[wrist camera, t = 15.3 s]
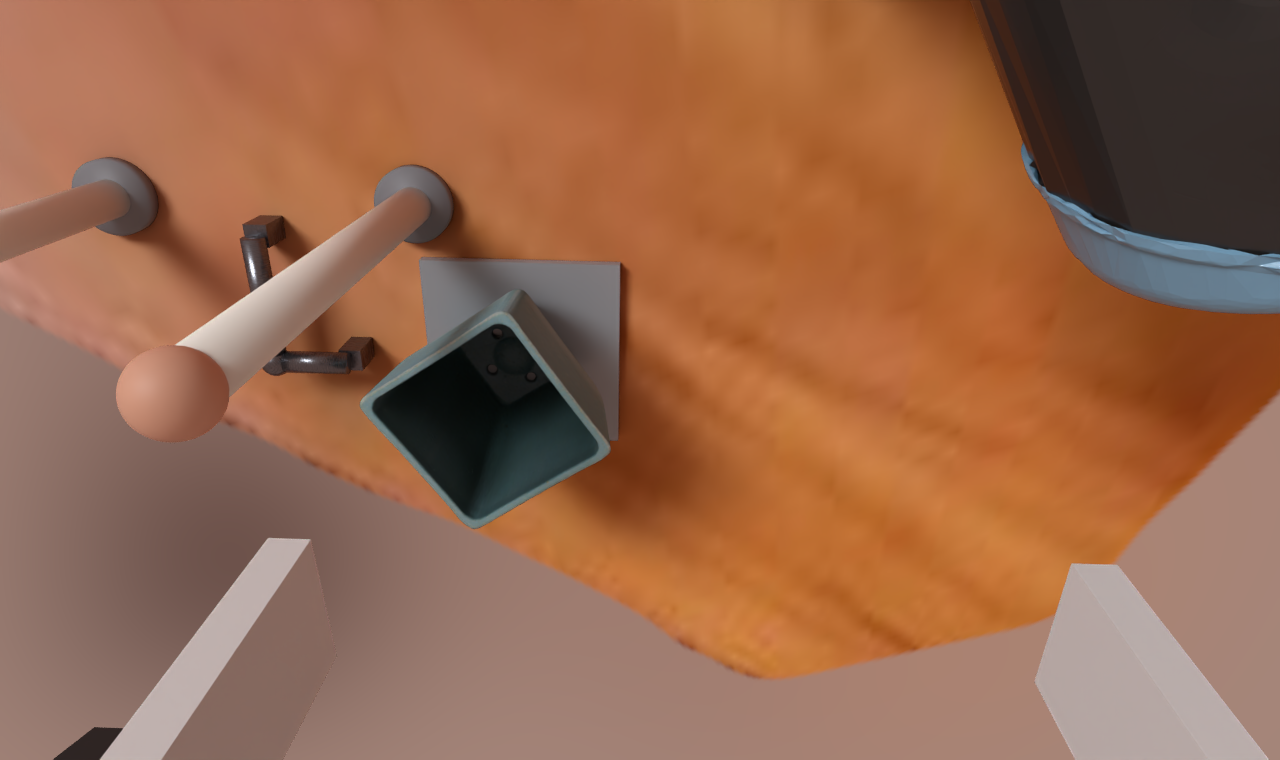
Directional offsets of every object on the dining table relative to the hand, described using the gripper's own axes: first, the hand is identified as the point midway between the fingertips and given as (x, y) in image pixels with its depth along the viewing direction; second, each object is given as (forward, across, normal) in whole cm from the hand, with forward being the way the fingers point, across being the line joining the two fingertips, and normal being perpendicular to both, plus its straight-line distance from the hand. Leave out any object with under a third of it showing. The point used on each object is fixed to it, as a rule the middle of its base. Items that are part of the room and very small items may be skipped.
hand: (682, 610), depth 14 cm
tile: (+30, -9, -9) cm, 33 cm away
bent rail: (+30, -20, -5) cm, 37 cm away
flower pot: (+30, -9, -9) cm, 33 cm away
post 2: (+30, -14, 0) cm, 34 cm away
